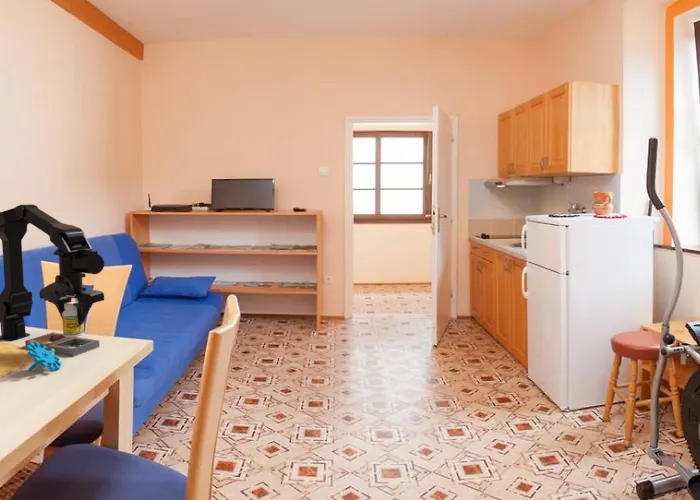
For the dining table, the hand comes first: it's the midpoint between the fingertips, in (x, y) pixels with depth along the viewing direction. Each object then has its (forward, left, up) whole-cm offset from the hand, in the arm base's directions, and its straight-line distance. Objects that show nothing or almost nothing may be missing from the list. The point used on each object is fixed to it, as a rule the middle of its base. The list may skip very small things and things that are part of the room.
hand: (73, 323), depth 145 cm
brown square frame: (-10, +1, -8) cm, 13 cm away
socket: (0, 0, -8) cm, 8 cm away
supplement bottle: (0, 0, -4) cm, 4 cm away
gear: (+6, -15, -8) cm, 18 cm away
